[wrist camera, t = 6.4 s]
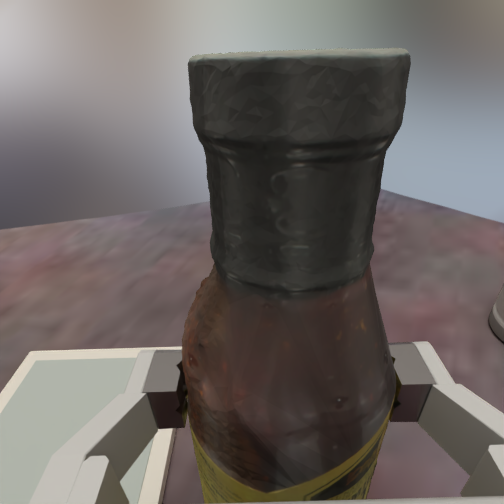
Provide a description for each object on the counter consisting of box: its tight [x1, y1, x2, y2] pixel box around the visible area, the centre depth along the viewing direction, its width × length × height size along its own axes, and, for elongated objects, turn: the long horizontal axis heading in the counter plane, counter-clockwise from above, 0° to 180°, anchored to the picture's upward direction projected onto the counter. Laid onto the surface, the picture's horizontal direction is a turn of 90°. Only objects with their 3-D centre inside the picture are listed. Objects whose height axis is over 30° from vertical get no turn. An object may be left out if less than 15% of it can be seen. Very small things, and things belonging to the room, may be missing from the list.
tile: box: [0, 347, 182, 504], centre depth 20 cm, size 12×12×1 cm
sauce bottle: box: [182, 48, 411, 504], centre depth 11 cm, size 7×6×20 cm
